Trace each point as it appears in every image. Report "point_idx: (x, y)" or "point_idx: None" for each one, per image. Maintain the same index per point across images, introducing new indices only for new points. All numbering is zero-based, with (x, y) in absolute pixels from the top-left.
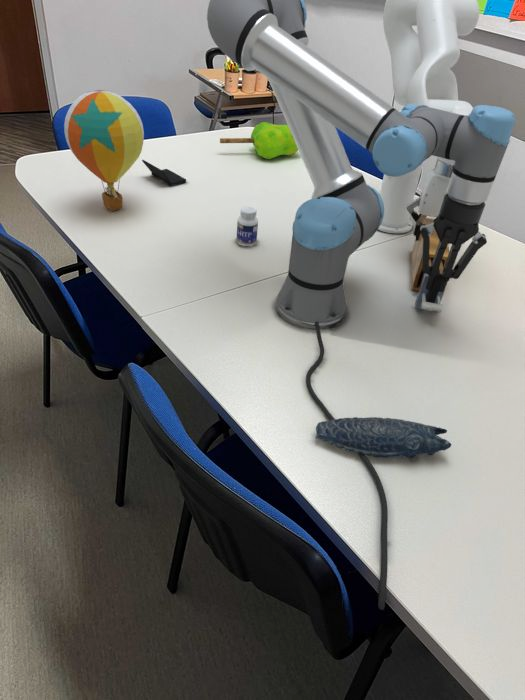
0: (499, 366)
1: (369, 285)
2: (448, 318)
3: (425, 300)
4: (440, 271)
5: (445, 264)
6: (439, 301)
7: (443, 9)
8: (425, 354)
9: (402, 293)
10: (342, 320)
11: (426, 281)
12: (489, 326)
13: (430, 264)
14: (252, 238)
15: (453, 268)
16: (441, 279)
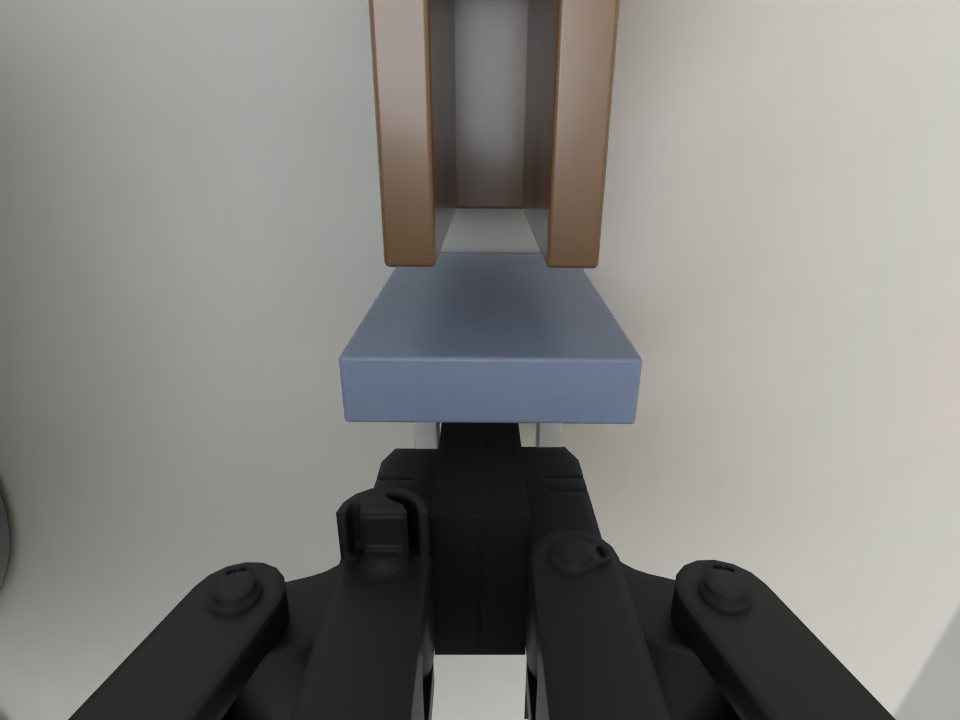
0: (837, 649)
1: (3, 9)
2: (648, 309)
3: (436, 448)
4: (560, 202)
5: (544, 709)
6: (555, 427)
7: None
8: (477, 659)
9: (300, 51)
10: (3, 555)
11: (376, 486)
12: (929, 317)
13: (412, 13)
14: None
15: (697, 623)
16: (514, 643)
